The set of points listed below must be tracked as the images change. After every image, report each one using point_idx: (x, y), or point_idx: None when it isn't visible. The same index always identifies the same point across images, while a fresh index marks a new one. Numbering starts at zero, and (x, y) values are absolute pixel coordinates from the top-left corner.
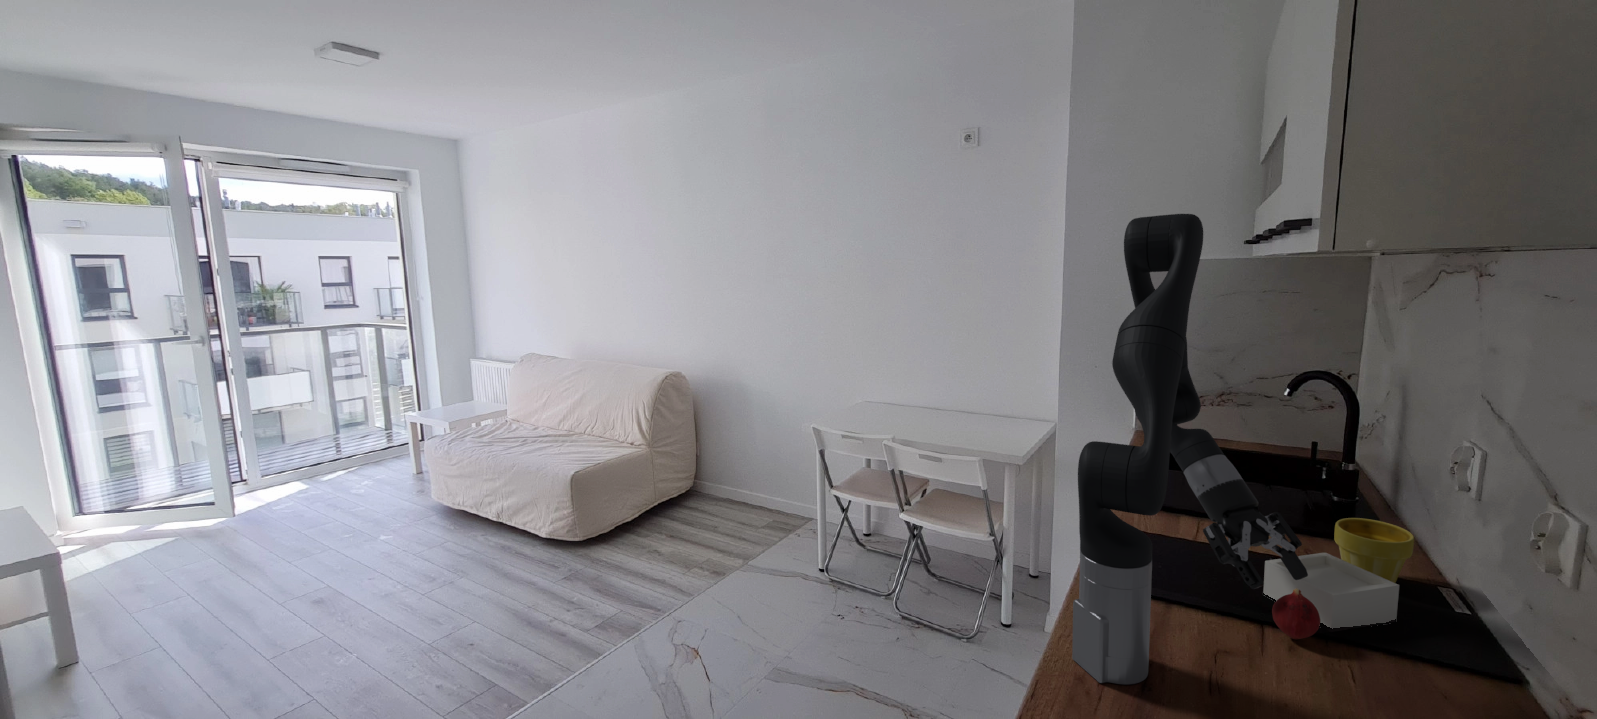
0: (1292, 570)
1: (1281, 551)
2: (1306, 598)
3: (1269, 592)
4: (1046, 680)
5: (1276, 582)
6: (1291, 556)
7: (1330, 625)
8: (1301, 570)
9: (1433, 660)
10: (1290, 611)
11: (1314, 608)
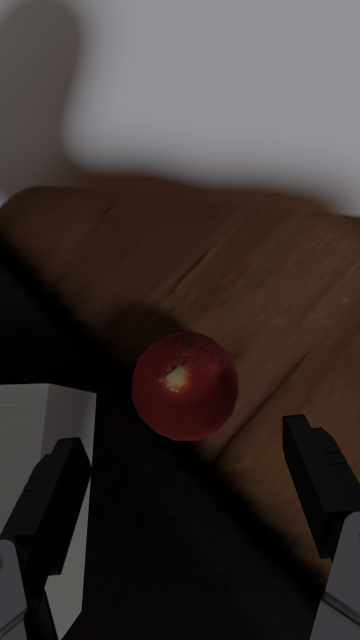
0: (77, 490)
1: (35, 594)
2: (155, 366)
3: (75, 595)
4: None
5: (55, 592)
6: (44, 520)
7: (90, 393)
8: (69, 452)
9: (22, 282)
10: (225, 357)
11: (157, 345)
